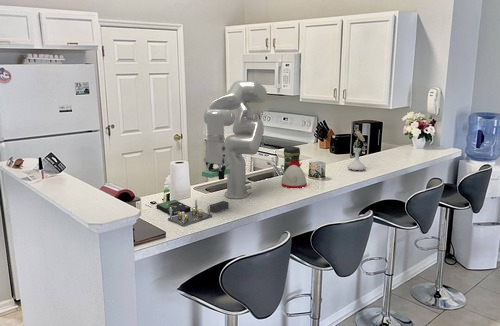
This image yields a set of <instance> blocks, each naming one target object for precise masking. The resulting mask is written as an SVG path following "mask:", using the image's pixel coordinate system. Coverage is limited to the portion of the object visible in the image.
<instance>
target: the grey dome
mask: <svg viewBox="0 0 500 326" xmlns="http://www.w3.org/2000/svg"><path fill="white" fill-rule="evenodd" d="M287 164H288V163H287ZM302 164H303V162H301V163H300V160H299V161H298V163H297V161H296V160H295V163H294V159H293V160H292V162H291V161H290V165H289V164H288V166H289V167H288V168H287V169H286V171H285V172H284V171H283V173H284V175H282V178H281V186H282V187H283V188H285V187H287V188H286V189H290V188H299V189H303V188H302V187H304V188H306V187H307V178H306V175H305V173H304V171H303V169H302V168H301V165H302ZM305 186H306V187H305Z"/></svg>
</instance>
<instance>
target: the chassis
mask: <svg viewBox="0 0 500 326" xmlns="http://www.w3.org/2000/svg"><path fill="white" fill-rule="evenodd" d="M210 205H211V204H210V203H207V212H205V211H203V209H199V208H198V199H195V200H194V207H191V211H190V212H187V213H184V211H183V212H178V215H174V216H172V207H170V215H169V217H168V218H167V221H168V222H171V223H172V224H173V223H174V224H176V225H179V226H181V227H188V226H190V225H193V224H196V223H199V222H202V221H205V220H208V219H210V218H211V219H212V218H213V214H211V212H210Z"/></svg>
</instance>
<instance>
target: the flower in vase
mask: <svg viewBox="0 0 500 326" xmlns="http://www.w3.org/2000/svg"><path fill="white" fill-rule="evenodd" d="M356 136H357V139H356V142H355V143H354V144H355V146H356V147H354V148H353V150H354V156H355V157H354V160H353V161H352V162H350V163H349V164H348V165H347V169H349V170H351V169H352V171H356V170H359V171H364V170H366V168H367V167H366V166H365V164H364V163H362V161H360V153H361V151H362V148H360V147H359V146H361V143H359V144H357V143H358V140H360V141H362V142H364V141H365V137H364V136H363V134H362V133H361V131H359V130H357V131H356ZM363 169H364V170H363Z"/></svg>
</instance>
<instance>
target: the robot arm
mask: <svg viewBox="0 0 500 326" xmlns="http://www.w3.org/2000/svg"><path fill="white" fill-rule="evenodd" d="M267 97H268V92H267V89H266V87H264V85H262V83H260V82H258V81H255V80H236V81H235V82H233V83H232V85H231V87H230V88H229V90H228V91H227V92H226V94H225V95H223V96H221V97H218V98H217V99H215V100H213V101H211V102H210V103H209V104H208V105H207V108H206V109H205V111H204V114H203V121H204V123H205V124H206V130H207V133H206V136H207V140H206V145H205V156H204V158H203V162H204V163H205V165H206V168H207V170H210V169H215V168H214V165H217V166H218V167H219V170H220V171H219V176H218V180H219V181H221V180H224V179H225V175H224V170H226V169H230V174H226V185H227V187H226V189H227V191H225V192H224V193H223V195H224V197H225V198H228V199H234V200H235V199H237V200H238V199H245V198H247V197H249V196H250V194H249V192H248V190H251V189H252V185H251V184H250V185H246V184H247V183H246V176H247V175H246V173H247V172H246V169H247V168H246V166H247V165H246V159H245V158H244V156H243V155H249V156H250V155H251V156H254V155H256V154H258V152H259V149H260V146H261V142H262V140H263V139H262V138H263V135H264V131H265V130H264V127H265V125H264V122H263V121H262V120H261V119H260V118H254V111H253V109H252V108H251V106H249V103H251V104H263V103H265V102H266V100H267ZM233 110H237V111H236V114H235V113H234V111H233ZM232 125H233V126H232ZM231 126H232V133H233V134H230V135H228V136H226V137H225V127H231ZM218 167H217V168H218Z"/></svg>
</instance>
